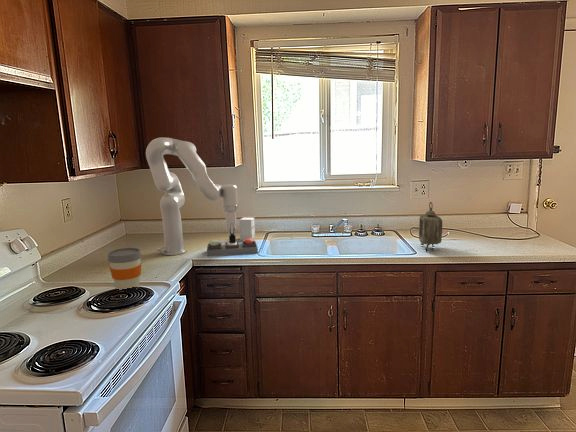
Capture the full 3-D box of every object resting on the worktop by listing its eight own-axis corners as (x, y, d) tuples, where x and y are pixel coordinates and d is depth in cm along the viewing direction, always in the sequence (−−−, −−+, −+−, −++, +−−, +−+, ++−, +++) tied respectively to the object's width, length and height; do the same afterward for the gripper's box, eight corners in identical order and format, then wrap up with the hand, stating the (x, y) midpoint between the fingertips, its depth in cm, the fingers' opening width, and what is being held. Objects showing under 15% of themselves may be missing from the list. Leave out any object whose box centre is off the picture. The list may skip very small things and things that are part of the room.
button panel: (207, 256, 208) (206, 247, 207) (207, 250, 217) (207, 242, 216) (257, 252, 212) (257, 244, 211) (256, 247, 221) (255, 239, 221)
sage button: (209, 246, 209) (209, 242, 209) (209, 244, 214) (209, 240, 214) (219, 246, 210) (219, 242, 210) (219, 243, 215) (219, 239, 215)
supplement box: (251, 241, 236) (251, 219, 234) (239, 240, 238) (238, 219, 235) (255, 238, 243) (254, 217, 241) (243, 237, 245) (242, 217, 243)
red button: (244, 244, 212) (244, 240, 212) (244, 242, 217) (244, 238, 217) (254, 243, 213) (254, 240, 213) (253, 241, 218) (253, 237, 218)
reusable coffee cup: (133, 293, 159) (130, 256, 156) (104, 292, 161) (100, 255, 158) (149, 282, 171) (146, 248, 168) (122, 281, 173) (119, 247, 171)
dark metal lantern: (418, 245, 221) (420, 199, 216) (435, 245, 219) (438, 199, 215) (422, 252, 207) (425, 204, 202) (441, 253, 205) (444, 204, 201)
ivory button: (227, 248, 211) (227, 244, 211) (227, 245, 216) (227, 241, 216) (237, 247, 212) (236, 243, 212) (236, 244, 217) (236, 241, 216)
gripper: (223, 206, 217) (225, 239, 220) (223, 211, 202) (225, 247, 206) (237, 205, 218) (239, 238, 221) (238, 210, 203) (240, 246, 207)
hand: (232, 242), depth 214 cm, fingers closed
